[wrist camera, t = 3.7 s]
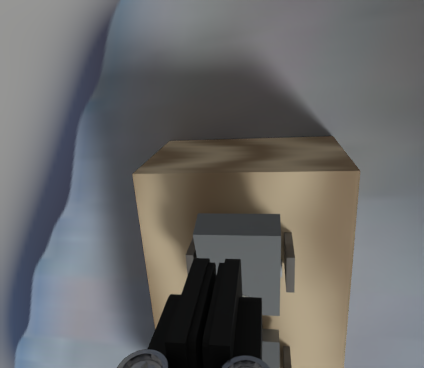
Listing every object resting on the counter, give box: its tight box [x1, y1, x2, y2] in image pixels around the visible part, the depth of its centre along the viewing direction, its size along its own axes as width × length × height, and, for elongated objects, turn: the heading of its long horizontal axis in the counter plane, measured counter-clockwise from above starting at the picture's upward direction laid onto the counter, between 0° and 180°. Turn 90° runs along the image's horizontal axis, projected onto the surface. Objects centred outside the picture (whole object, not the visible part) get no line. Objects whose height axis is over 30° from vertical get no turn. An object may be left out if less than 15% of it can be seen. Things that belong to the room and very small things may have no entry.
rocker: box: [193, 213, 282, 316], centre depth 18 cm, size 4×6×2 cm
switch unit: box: [132, 136, 360, 368], centre depth 25 cm, size 12×25×11 cm, turn 4°
